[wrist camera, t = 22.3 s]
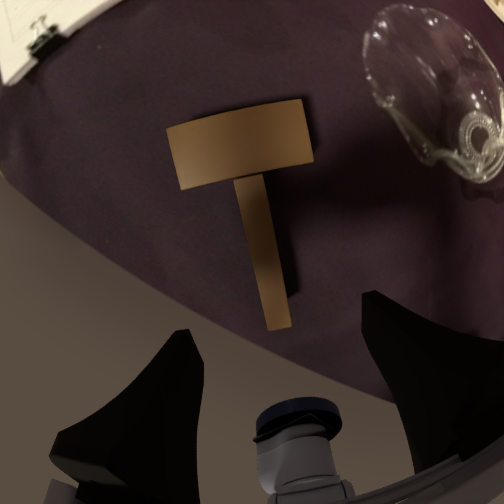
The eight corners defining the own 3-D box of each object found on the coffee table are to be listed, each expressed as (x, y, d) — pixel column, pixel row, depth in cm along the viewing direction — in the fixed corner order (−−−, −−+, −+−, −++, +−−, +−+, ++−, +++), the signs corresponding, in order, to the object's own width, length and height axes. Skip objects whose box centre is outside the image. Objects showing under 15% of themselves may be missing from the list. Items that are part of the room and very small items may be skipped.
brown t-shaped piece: (227, 312, 22) (224, 339, 18) (177, 130, 17) (163, 127, 14) (323, 292, 21) (335, 316, 18) (292, 105, 16) (302, 96, 13)
